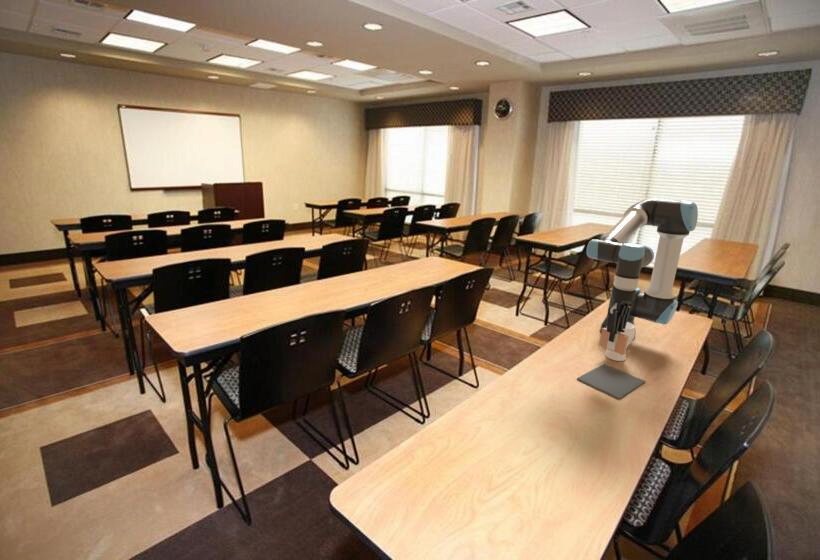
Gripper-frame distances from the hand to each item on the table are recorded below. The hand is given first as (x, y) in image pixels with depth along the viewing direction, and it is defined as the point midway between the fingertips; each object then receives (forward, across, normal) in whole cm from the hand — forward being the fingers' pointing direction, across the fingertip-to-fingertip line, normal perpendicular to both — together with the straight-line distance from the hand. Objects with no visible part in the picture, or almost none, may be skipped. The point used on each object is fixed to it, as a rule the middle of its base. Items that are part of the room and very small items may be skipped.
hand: (612, 348), depth 150 cm
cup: (+13, -21, -8) cm, 26 cm away
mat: (+13, 0, +2) cm, 13 cm away
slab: (+1, 0, 0) cm, 1 cm away
